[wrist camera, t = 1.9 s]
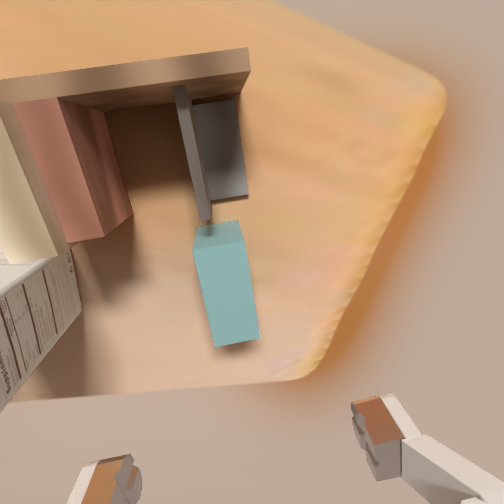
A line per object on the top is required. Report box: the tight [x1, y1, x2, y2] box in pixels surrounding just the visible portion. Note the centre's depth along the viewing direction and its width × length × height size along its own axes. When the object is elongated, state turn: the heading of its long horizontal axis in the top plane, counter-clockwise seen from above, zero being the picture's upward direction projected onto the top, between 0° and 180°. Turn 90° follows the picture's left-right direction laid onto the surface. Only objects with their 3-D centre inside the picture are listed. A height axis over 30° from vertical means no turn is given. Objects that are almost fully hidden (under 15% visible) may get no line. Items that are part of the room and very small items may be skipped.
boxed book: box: [192, 220, 261, 347], centre depth 26 cm, size 4×9×7 cm, turn 8°
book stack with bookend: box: [0, 47, 251, 264], centre depth 21 cm, size 18×10×9 cm, turn 98°
